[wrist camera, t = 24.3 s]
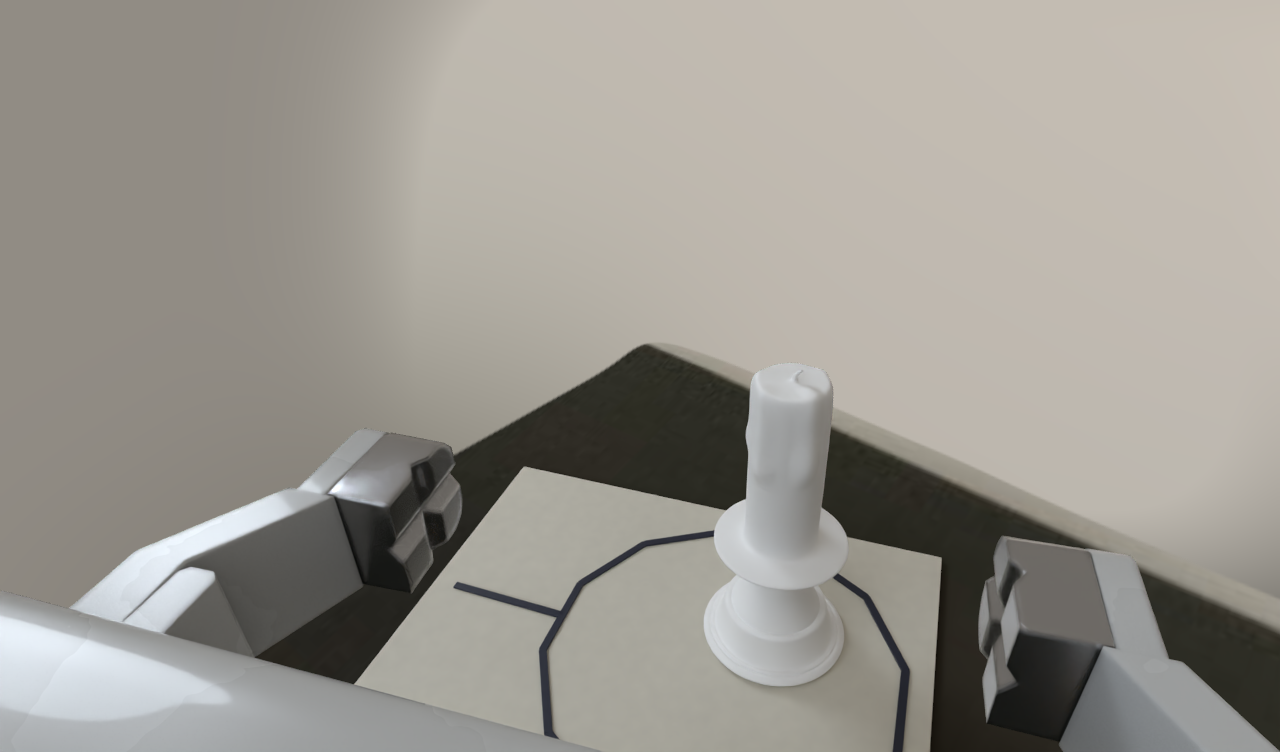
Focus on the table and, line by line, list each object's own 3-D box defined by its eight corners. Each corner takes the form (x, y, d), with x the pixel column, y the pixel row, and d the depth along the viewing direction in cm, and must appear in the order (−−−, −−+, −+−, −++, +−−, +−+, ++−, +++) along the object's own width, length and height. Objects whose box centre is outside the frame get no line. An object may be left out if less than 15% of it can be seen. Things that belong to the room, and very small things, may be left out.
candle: (872, 660, 28) (925, 388, 22) (743, 709, 27) (759, 433, 20) (796, 561, 33) (822, 310, 26) (681, 599, 31) (679, 342, 25)
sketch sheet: (306, 751, 26) (303, 746, 26) (524, 469, 39) (523, 464, 39) (914, 990, 20) (915, 985, 20) (941, 560, 32) (942, 555, 32)
